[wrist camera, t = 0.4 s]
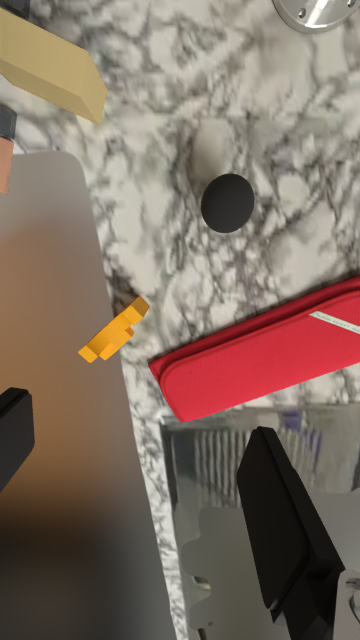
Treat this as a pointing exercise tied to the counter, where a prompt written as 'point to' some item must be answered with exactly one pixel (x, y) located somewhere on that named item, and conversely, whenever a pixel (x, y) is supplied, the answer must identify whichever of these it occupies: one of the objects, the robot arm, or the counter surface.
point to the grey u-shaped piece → (3, 117)
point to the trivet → (5, 164)
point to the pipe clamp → (115, 332)
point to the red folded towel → (264, 353)
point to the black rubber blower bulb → (227, 203)
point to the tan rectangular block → (50, 67)
